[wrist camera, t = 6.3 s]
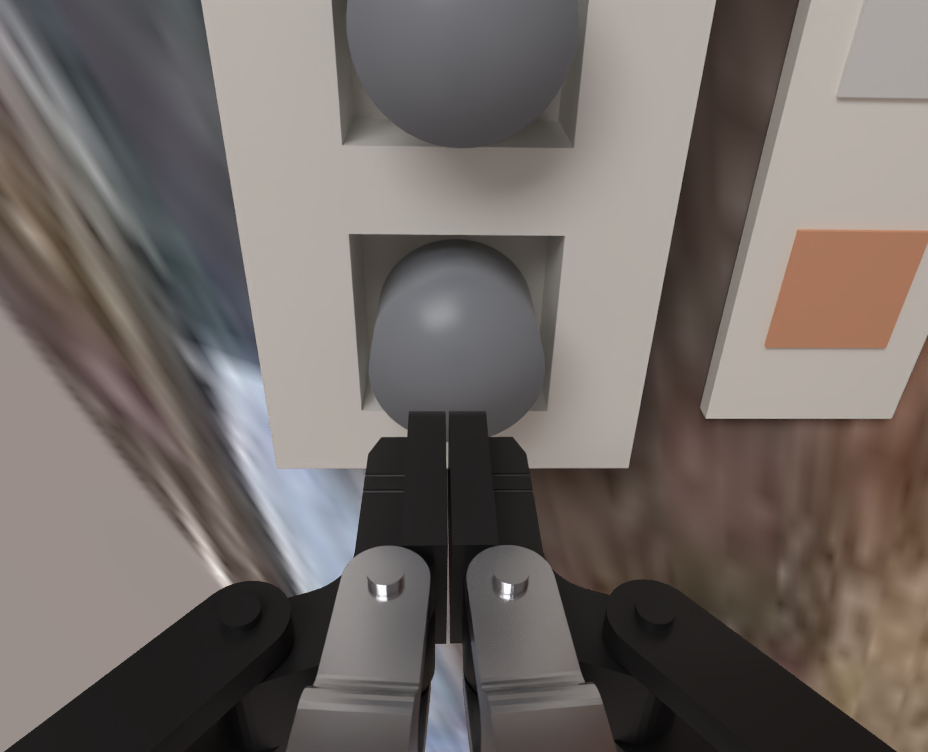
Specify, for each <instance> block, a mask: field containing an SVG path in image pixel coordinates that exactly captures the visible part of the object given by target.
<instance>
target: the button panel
mask: <svg viewBox="0 0 928 752" xmlns="http://www.w3.org/2000/svg"><path fill="white" fill-rule="evenodd" d="M347 1H348V0H201V2H202V8H203V14H204V21H205V27H206V33H207V39H208V45H209V52H210V58H211V64H212V70H213V76H214V82H215V89H216V95H217V101H218V107H219V113H220V119H221V126H222V132H223V138H224V144H225V150H226V157H227V163H228V169H229V175H230V181H231V187H232V194H233V200H234V206H235V212H236V218H237V225H238V231H239V237H240V243H241V249H242V255H243V262H244V268H245V274H246V280H247V286H248V292H249V299H250V305H251V311H252V317H253V323H254V330H255V336H256V342H257V348H258V354H259V360H260V367H261V373H262V379H263V385H264V391H265V398H266V404H267V410H268V416H269V422H270V428H271V435H272V441H273V447H274V453H275V459H276V465H277V469H305V468H366V466H367V458H368V454H369V452H370V451H371V450H372V448H373V447H374V446H375V445H376V443H377V442H378V441H379V439H380V438H381V437H407V431H408V430H407V429H405V428H403V427H402V426H400V425H399V424H397V423H396V422H395V421H394V420H393V419H392V418H391V417H389V416H388V414H387V413H386V412H385V411H384V410H383V409H382V407H381V406H380V404H379V403H378V401H377V399H376V397H375V395H374V393H373V391H372V387H371V384H370V379H369V358H370V352H371V346H372V340H373V334H374V329H375V323H376V317H377V311H378V305H379V299H380V293H381V290H382V287H383V284H384V282H385V280H386V278H387V276H388V274H389V273H390V272H391V270H392V269H393V267H394V266H395V265H396V264H397V263H398V262H399V261H400V260H401V259H402V258H403V257H405V256H406V255H407V254H409V253H410V252H412V251H413V250H415V249H417V248H419V247H421V246H423V245H426V244H429V243H432V242H435V241H441V240H447V239H463V240H471V241H476V242H479V243H482V244H485V245H488V246H490V247H492V248H494V249H496V250H498V251H499V252H501V253H502V254H504V255H505V256H506V257H508V258H509V259H510V260H511V261H512V262H513V263H514V264H515V265H516V266H517V268H518V269H519V270H520V272H521V273H522V275H523V276H524V278H525V280H526V283H527V285H528V288H529V291H530V295H531V299H532V303H533V308H534V312H535V316H536V321H537V325H538V329H539V334H540V338H541V342H542V346H543V351H544V356H545V377H544V383H543V386H542V389H541V392H540V394H539V396H538V398H537V400H536V401H535V403H534V404H533V406H532V407H531V409H530V410H529V411H528V412H527V413H526V414H525V415H524V416H523V417H522V418H521V419H520V420H519V421H518V422H517V423H515V424H514V425H512V426H511V427H509V428H508V429H506V430H504V431H502V432H500V433H498V434H496V435H493V436H491V437H513V438H514V439H515V440H516V441H517V443H518V444H519V445H520V446H521V448H522V449H523V450H524V451H525V452H526V454H527V460H528V466H529V468H628V467H629V462H630V456H631V451H632V446H633V440H634V435H635V430H636V424H637V419H638V414H639V408H640V403H641V398H642V393H643V387H644V382H645V377H646V371H647V366H648V361H649V355H650V350H651V345H652V339H653V334H654V329H655V323H656V318H657V313H658V307H659V302H660V297H661V291H662V286H663V281H664V275H665V270H666V265H667V259H668V254H669V249H670V243H671V238H672V233H673V227H674V222H675V217H676V211H677V206H678V201H679V195H680V190H681V185H682V179H683V174H684V169H685V163H686V158H687V153H688V147H689V142H690V137H691V131H692V126H693V121H694V115H695V110H696V105H697V99H698V94H699V89H700V83H701V78H702V73H703V68H704V62H705V57H706V52H707V46H708V41H709V36H710V30H711V25H712V20H713V14H714V9H715V4H716V0H577V3H578V15H579V17H578V36H577V42H576V48H575V52H574V56H573V60H572V63H571V66H570V69H569V71H568V74H567V76H566V78H565V81H564V82H563V84H562V86H561V88H560V90H559V91H558V93H557V95H556V96H555V97H554V99H553V100H552V102H551V103H550V104H549V106H548V107H547V108H546V109H545V110H544V111H543V112H542V113H541V114H540V116H539V117H538V118H536V119H535V120H534V121H533V122H532V123H531V124H529V125H528V126H527V127H525V128H524V129H522V130H521V131H519V132H518V133H516V134H515V135H513V136H510V137H508V138H506V139H504V140H502V141H499V142H496V143H493V144H490V145H486V146H481V147H475V148H450V147H443V146H439V145H434V144H431V143H428V142H425V141H422V140H420V139H418V138H416V137H414V136H412V135H410V134H408V133H406V132H405V131H403V130H402V129H401V128H399V127H398V126H396V125H395V124H394V123H393V122H391V121H390V120H389V119H388V118H387V117H386V116H385V115H384V114H383V113H382V112H381V111H380V110H379V109H378V107H377V106H376V105H375V104H374V103H373V101H372V100H371V98H370V97H369V95H368V94H367V92H366V91H365V89H364V87H363V85H362V83H361V81H360V79H359V77H358V75H357V72H356V70H355V67H354V64H353V62H352V58H351V54H350V50H349V46H348V38H347V30H346V10H347ZM446 464H447V468H448V442H446Z"/></svg>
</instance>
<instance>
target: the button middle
mask: <svg viewBox="0 0 928 752" xmlns="http://www.w3.org/2000/svg"><path fill="white" fill-rule="evenodd" d="M578 17H579V15H578V3H577V0H348V1H347V10H346V30H347V38H348V46H349V50H350V54H351V58H352V62H353V64H354V67H355V70H356V72H357V75H358V77H359V79H360V81H361V83H362V85H363V87H364V89H365V91H366V92H367V94H368V95H369V97H370V98H371V100H372V101H373V103H374V104H375V105H376V106H377V107H378V109H379V110H380V111H381V112H382V113H383V114H384V115H385V116H386V117H387V118H388V119H389V120H390V121H391V122H393V123H394V124H395V125H396V126H398V127H399V128H401V129H402V130H403V131H405V132H406V133H408V134H410V135H412V136H414V137H416V138H418V139H420V140H422V141H425V142H428V143H431V144H434V145H439V146H443V147H450V148H475V147H481V146H486V145H490V144H493V143H496V142H499V141H502V140H504V139H506V138H508V137H510V136H513V135H515V134H516V133H518V132H519V131H521V130H522V129H524V128H525V127H527V126H528V125H529V124H531V123H532V122H533V121H534V120H535V119H536V118H538V117H539V116H540V114H541V113H542V112H543V111H544V110H545V109H546V108H547V107H548V106H549V104H550V103H551V102H552V100H553V99H554V97H555V96H556V95H557V93H558V91H559V90H560V88H561V86H562V84H563V82H564V81H565V78H566V76H567V74H568V71H569V69H570V66H571V63H572V60H573V56H574V52H575V48H576V42H577V36H578Z"/></svg>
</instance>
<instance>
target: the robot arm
mask: <svg viewBox="0 0 928 752" xmlns="http://www.w3.org/2000/svg"><path fill="white" fill-rule="evenodd" d="M365 474H366V476H365V481H364V488H363V496H362V503H361V510H360V518H359V525H358V533H357V540H356V547H355V553H354V557H353V559H352V560H351V561H350V562H349V563H348V564H347V566H346V567H345V569H344V571H343V573H342V575H341V576H340V577H339V578H337V579H336V580H335V581H333V582H332V583H330V584H329V585H327V586H324V587H322V588H320V589H317V590H314V591H311V592H308V593H304V594H301V595H297V596H293V597H290V598H287V597H286V595H285V594H284V592H282V591H281V590H280V589H279V588H277V587H276V586H274V585H272V584H269V583H266V582H260V581H246V582H240V583H235V584H232V585H229V586H227V587H225V588H223V589H221V590H219V591H217V592H216V593H214V594H213V595H211V596H210V597H209V598H207V599H206V600H205V601H203V602H202V603H201V604H199V605H198V606H197V607H195V608H194V609H193V610H191V611H190V612H189V613H187V614H186V615H185V616H183V617H182V618H181V619H179V620H178V621H177V622H175V623H174V624H173V625H172V626H170V627H169V628H167V629H166V630H165V631H164V632H162V633H161V634H160V635H158V636H157V637H156V638H154V639H153V640H152V641H150V642H149V643H148V644H146V645H145V646H144V647H142V648H141V649H140V650H138V651H137V652H136V653H134V654H133V655H132V656H130V657H129V658H128V659H126V660H125V661H124V662H122V663H121V664H120V665H118V666H117V667H116V668H114V669H113V670H112V671H111V672H109V673H108V674H106V675H105V676H104V677H103V678H101V679H100V680H99V681H97V682H96V683H95V684H93V685H92V686H91V687H89V688H88V689H87V690H85V691H84V692H83V693H81V694H80V695H79V696H77V697H76V698H75V699H73V700H72V701H71V702H69V703H68V704H67V705H65V706H64V707H63V708H61V709H60V710H59V711H58V712H56V713H55V714H53V715H52V716H51V717H49V718H48V719H47V720H46V721H44V722H43V723H42V724H40V725H39V726H38V727H36V728H35V729H34V730H32V731H31V732H30V733H28V734H27V735H26V736H24V737H23V738H22V739H20V740H19V741H18V742H16V743H15V744H14V745H12V746H11V747H10V748H8V749H7V750H6V751H4V752H425V746H426V735H427V724H428V714H429V703H430V692H431V680H432V678H433V675H434V670H435V644H446V624H447V557H448V540H449V602H450V643H462V646H463V697H464V705H465V714H466V723H467V732H468V740H469V749H470V752H896V751H895V750H894V749H892V748H891V747H890V746H888V745H887V744H886V743H884V742H883V741H882V740H880V739H879V738H878V737H876V736H875V735H873V734H872V733H871V732H869V731H868V730H867V729H865V728H864V727H863V726H861V725H860V724H859V723H857V722H856V721H855V720H853V719H852V718H850V717H849V716H848V715H846V714H845V713H844V712H842V711H841V710H840V709H838V708H837V707H836V706H834V705H833V704H832V703H830V702H829V701H828V700H826V699H825V698H823V697H822V696H821V695H819V694H818V693H817V692H815V691H814V690H813V689H811V688H810V687H809V686H807V685H806V684H805V683H803V682H802V681H800V680H799V679H798V678H796V677H795V676H794V675H792V674H791V673H790V672H788V671H787V670H786V669H784V668H783V667H782V666H780V665H779V664H777V663H776V662H775V661H773V660H772V659H771V658H769V657H768V656H767V655H765V654H764V653H763V652H761V651H760V650H759V649H757V648H756V647H754V646H753V645H752V644H750V643H749V642H748V641H746V640H745V639H744V638H742V637H741V636H740V635H738V634H737V633H736V632H734V631H733V630H732V629H730V628H729V627H727V626H726V625H725V624H723V623H722V622H721V621H719V620H718V619H717V618H715V617H714V616H713V615H711V614H710V613H709V612H707V611H706V610H704V609H703V608H702V607H700V606H699V605H698V604H696V603H695V602H694V601H692V600H691V599H690V598H688V597H687V596H686V595H684V594H683V593H681V592H680V591H678V590H677V589H675V588H673V587H671V586H669V585H667V584H664V583H661V582H658V581H653V580H633V581H629V582H626V583H623V584H622V585H620V586H618V587H617V588H616V589H615V590H614V591H613V592H612V593H611V595H607V594H604V593H600V592H596V591H592V590H589V589H585V588H582V587H579V586H576V585H574V584H572V583H570V582H568V581H566V580H565V579H563V578H562V577H561V576H559V575H558V574H557V573H556V572H555V571H554V570H553V569H552V568H551V567H550V565H549V564H548V562H547V561H546V559H545V556H544V553H543V549H542V543H541V537H540V531H539V525H538V519H537V513H536V507H535V501H534V495H533V493H532V484H531V478H530V472H529V466H528V460H527V454H526V452H525V451H524V450H523V449H522V448H521V446H520V445H519V444H518V443H517V441H516V440H515V439H514V438H513V437H488V427H487V416H486V411H449V431H448V533H447V464H446V411H409V415H408V431H407V437H381V438H380V439H379V441H378V442H377V443H376V445H375V446H374V447H373V448H372V450H371V451H370V452H369V454H368V458H367V466H366V473H365Z"/></svg>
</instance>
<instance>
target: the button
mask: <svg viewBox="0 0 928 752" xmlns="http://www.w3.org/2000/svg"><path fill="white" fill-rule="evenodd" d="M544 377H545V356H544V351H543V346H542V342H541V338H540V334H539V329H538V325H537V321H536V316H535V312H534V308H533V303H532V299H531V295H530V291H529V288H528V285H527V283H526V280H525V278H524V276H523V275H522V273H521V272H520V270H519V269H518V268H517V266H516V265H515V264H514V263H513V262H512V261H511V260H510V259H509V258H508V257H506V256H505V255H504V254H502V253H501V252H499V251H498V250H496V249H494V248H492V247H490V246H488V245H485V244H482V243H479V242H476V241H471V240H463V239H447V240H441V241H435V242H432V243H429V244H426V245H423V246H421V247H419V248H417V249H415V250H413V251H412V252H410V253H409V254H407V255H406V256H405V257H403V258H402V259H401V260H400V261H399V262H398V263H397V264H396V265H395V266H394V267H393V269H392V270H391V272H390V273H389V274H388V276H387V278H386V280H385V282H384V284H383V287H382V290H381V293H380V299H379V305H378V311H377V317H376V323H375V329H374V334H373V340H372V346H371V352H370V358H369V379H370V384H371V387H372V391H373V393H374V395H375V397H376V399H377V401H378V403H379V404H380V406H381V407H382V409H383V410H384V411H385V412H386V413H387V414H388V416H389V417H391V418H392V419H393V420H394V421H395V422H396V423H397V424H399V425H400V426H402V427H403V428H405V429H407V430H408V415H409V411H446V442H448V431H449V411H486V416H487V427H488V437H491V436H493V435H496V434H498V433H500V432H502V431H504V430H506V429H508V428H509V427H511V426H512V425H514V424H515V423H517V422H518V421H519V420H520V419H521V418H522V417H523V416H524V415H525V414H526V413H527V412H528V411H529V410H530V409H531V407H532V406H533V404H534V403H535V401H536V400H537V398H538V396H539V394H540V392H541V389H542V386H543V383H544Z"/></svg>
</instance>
